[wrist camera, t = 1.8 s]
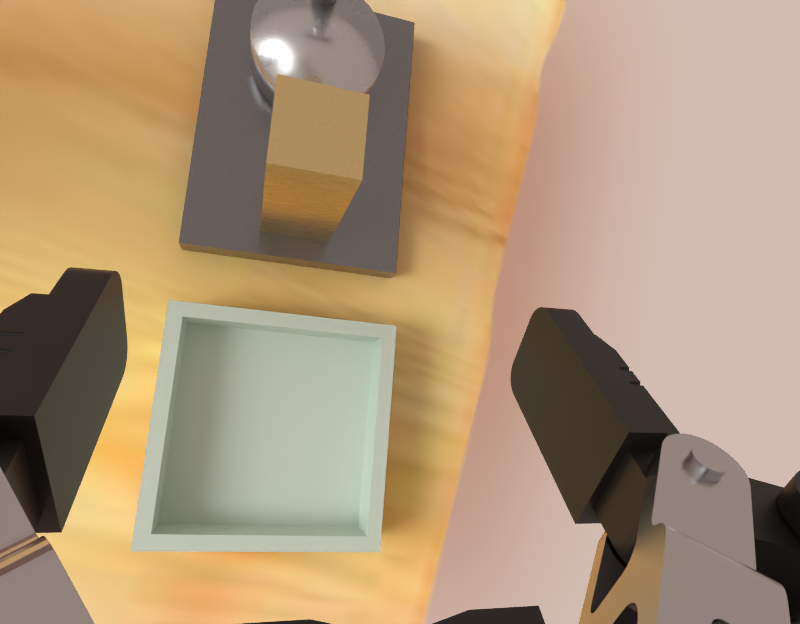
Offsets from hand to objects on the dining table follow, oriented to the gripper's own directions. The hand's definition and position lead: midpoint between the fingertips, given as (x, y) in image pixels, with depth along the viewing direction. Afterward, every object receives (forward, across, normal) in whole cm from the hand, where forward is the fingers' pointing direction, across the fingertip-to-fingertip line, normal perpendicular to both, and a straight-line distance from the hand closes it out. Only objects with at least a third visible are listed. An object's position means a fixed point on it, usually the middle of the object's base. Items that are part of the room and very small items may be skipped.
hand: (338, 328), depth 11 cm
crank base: (+28, 0, +4) cm, 29 cm away
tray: (+15, +1, +18) cm, 24 cm away
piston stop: (+23, 0, +7) cm, 24 cm away
